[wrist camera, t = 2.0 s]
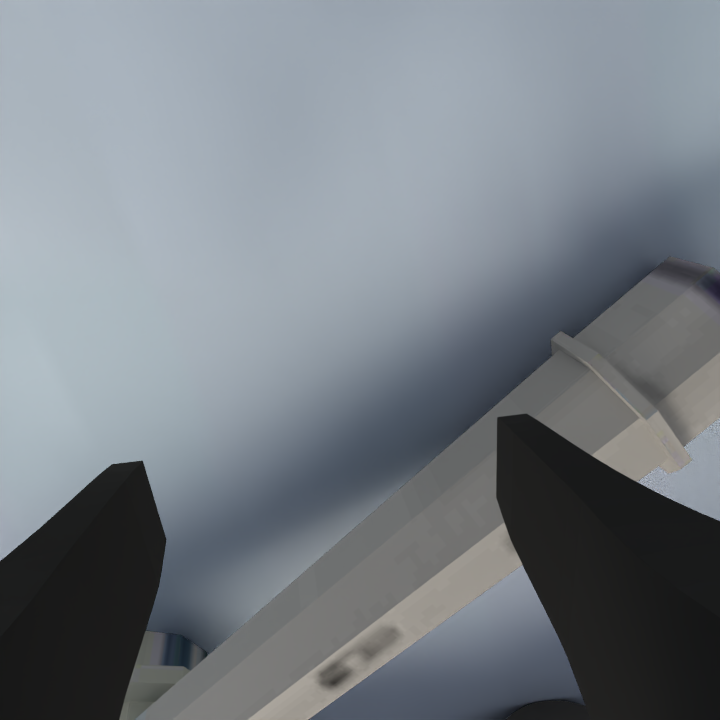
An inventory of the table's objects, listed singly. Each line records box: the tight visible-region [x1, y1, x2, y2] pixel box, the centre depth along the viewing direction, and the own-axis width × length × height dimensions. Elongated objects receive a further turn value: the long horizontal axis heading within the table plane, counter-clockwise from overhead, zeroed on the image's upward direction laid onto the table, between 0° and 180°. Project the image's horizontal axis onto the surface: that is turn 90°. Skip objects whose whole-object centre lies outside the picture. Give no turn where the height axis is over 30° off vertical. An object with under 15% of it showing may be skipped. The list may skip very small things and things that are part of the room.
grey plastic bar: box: [119, 256, 720, 720], centre depth 18 cm, size 5×7×25 cm
